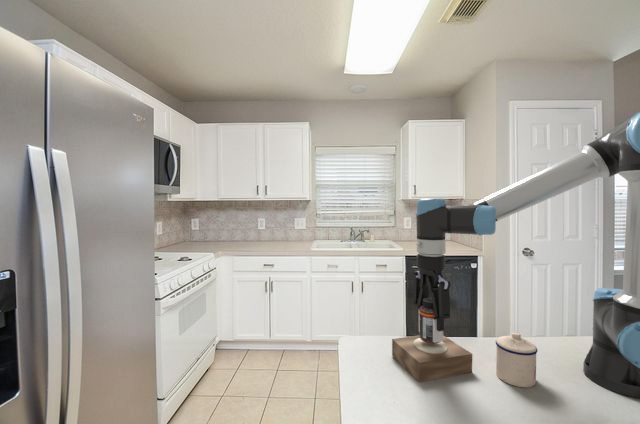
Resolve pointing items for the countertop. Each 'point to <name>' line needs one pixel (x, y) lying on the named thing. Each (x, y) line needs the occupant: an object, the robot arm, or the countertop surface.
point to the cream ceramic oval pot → (516, 360)
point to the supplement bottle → (426, 321)
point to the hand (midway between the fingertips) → (430, 336)
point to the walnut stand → (431, 358)
